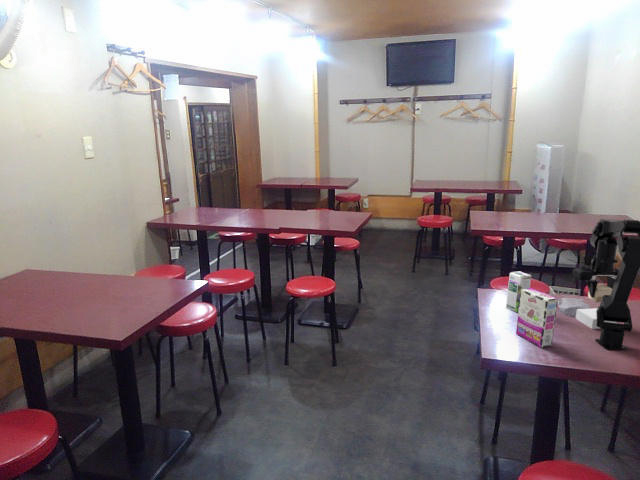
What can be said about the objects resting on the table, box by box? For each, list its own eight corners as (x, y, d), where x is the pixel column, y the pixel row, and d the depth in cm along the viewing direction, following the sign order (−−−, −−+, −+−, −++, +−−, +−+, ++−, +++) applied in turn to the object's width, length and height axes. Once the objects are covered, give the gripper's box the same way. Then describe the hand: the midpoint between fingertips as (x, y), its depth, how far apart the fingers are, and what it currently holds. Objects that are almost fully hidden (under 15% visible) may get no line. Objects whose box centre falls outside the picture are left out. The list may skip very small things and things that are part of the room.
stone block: (564, 320, 169) (593, 317, 167) (563, 308, 168) (592, 305, 166) (554, 309, 180) (581, 306, 178) (552, 298, 179) (580, 294, 177)
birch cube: (610, 302, 157) (612, 288, 156) (595, 302, 158) (597, 288, 156) (601, 297, 162) (603, 283, 161) (587, 297, 162) (589, 284, 161)
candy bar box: (552, 345, 146) (559, 298, 142) (541, 348, 144) (547, 300, 140) (526, 331, 156) (531, 287, 152) (515, 333, 154) (519, 289, 150)
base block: (615, 328, 158) (617, 318, 157) (591, 329, 158) (593, 319, 157) (598, 318, 167) (600, 308, 166) (575, 319, 166) (576, 309, 165)
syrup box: (505, 307, 176) (508, 272, 173) (516, 305, 179) (519, 270, 175) (516, 312, 171) (520, 276, 168) (528, 310, 174) (532, 274, 170)
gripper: (618, 248, 163) (611, 289, 167) (566, 248, 164) (561, 289, 167) (638, 257, 153) (631, 300, 156) (583, 257, 153) (577, 300, 157)
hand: (599, 296), depth 160 cm, fingers closed on birch cube, 5 cm apart
